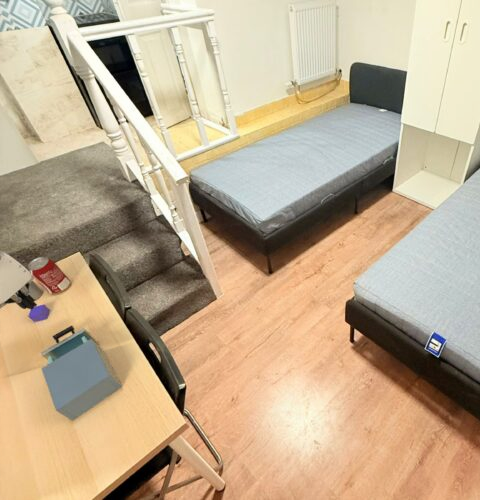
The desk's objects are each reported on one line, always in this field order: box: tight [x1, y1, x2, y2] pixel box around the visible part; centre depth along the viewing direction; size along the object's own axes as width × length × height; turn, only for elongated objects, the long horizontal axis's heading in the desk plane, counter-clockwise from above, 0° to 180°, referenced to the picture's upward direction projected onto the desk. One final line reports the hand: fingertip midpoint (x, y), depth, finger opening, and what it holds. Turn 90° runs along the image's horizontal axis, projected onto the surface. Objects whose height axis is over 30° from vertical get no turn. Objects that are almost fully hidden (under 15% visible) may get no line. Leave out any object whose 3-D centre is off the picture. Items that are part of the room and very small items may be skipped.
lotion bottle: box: [15, 280, 43, 301], centre depth 103 cm, size 6×6×20 cm
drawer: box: [40, 325, 99, 364], centre depth 90 cm, size 19×11×7 cm, turn 43°
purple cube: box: [27, 304, 51, 323], centre depth 103 cm, size 4×4×3 cm
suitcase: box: [41, 339, 123, 422], centre depth 84 cm, size 14×12×9 cm
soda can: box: [27, 256, 71, 295], centre depth 108 cm, size 7×7×12 cm
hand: (30, 306), depth 91 cm, fingers closed
